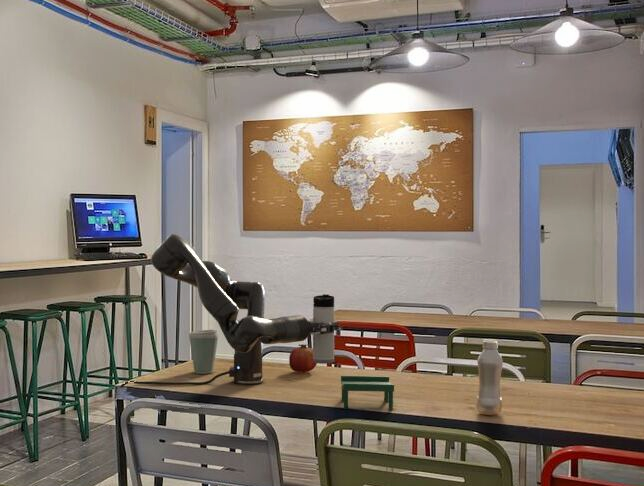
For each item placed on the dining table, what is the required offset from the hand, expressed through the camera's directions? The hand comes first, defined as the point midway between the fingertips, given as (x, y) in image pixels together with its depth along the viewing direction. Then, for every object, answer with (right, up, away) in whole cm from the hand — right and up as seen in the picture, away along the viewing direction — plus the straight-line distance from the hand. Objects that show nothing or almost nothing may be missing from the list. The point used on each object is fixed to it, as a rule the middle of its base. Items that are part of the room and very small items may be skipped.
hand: (329, 324), depth 222 cm
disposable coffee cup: (-39, -20, +41) cm, 60 cm away
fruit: (-4, -20, +40) cm, 45 cm away
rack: (+9, -22, -10) cm, 26 cm away
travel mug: (-2, -11, -1) cm, 11 cm away
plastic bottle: (+40, -23, -21) cm, 51 cm away
